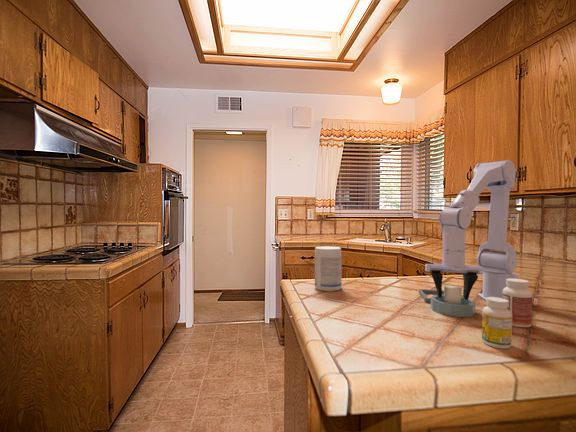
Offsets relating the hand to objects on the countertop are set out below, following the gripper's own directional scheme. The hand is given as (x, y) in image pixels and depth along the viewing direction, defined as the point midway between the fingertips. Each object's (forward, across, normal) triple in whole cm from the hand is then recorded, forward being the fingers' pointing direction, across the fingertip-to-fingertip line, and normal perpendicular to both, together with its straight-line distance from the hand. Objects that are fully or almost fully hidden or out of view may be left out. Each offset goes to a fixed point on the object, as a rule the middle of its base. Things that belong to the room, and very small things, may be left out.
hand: (452, 297), depth 91 cm
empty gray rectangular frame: (+4, 0, +12) cm, 13 cm away
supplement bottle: (+4, +3, -22) cm, 23 cm away
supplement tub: (+4, -37, +16) cm, 40 cm away
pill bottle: (+4, +13, -8) cm, 15 cm away
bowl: (+4, 0, 0) cm, 4 cm away
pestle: (+3, 0, 0) cm, 3 cm away
